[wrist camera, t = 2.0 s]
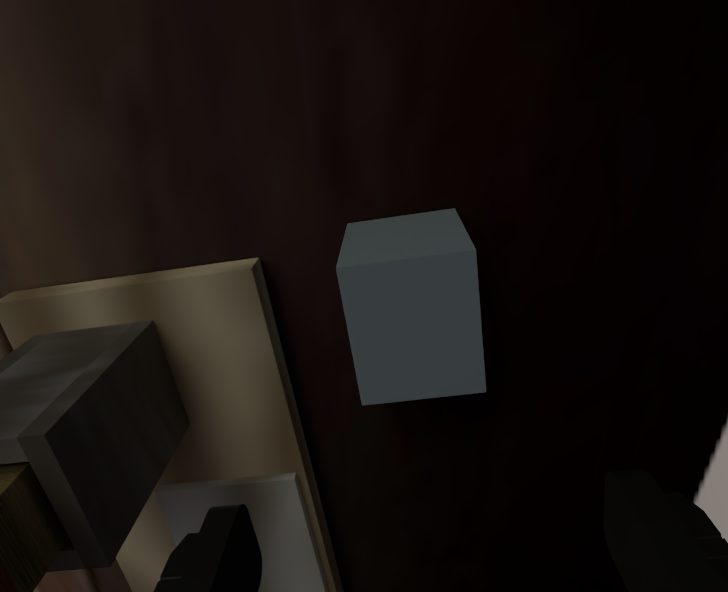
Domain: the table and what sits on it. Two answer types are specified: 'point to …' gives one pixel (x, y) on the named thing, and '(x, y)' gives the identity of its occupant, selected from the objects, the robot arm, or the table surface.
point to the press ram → (26, 529)
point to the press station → (162, 420)
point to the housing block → (412, 307)
